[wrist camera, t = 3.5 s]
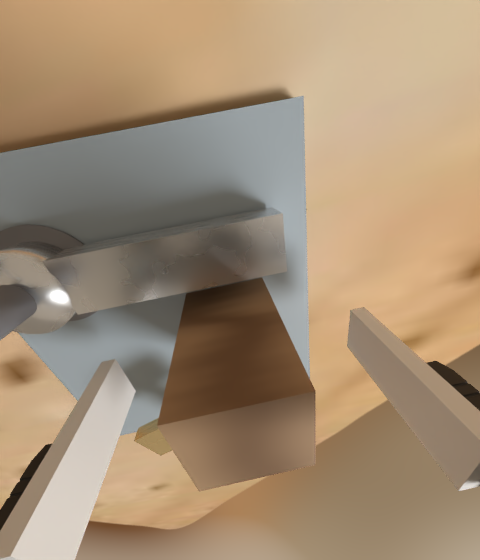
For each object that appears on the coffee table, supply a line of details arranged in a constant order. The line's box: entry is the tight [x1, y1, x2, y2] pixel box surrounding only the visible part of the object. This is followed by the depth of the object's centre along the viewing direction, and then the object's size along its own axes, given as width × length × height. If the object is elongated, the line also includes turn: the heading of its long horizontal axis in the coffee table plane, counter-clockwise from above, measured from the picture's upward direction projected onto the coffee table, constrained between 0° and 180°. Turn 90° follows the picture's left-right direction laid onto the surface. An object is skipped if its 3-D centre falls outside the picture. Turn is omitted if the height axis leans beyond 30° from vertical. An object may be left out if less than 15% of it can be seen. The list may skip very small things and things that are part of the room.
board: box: [0, 96, 310, 435], centre depth 12 cm, size 19×22×7 cm
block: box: [157, 278, 316, 491], centre depth 11 cm, size 5×5×8 cm
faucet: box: [0, 207, 287, 334], centre depth 11 cm, size 15×4×2 cm, turn 100°
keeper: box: [134, 418, 172, 455], centre depth 17 cm, size 5×5×4 cm
